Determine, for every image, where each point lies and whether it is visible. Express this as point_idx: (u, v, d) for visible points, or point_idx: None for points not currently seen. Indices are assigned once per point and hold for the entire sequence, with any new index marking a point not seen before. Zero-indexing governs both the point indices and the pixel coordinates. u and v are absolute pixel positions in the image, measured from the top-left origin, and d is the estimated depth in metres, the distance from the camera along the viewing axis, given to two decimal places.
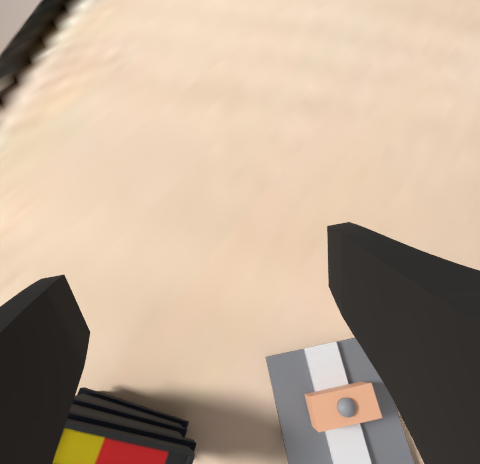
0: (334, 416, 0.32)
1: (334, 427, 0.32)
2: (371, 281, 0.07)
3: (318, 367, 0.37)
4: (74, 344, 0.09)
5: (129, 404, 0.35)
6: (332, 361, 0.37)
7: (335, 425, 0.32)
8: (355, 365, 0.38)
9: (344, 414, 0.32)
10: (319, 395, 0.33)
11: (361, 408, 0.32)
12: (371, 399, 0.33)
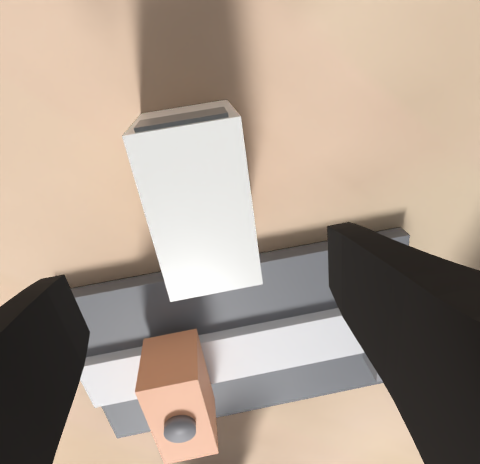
0: (195, 437, 0.19)
1: (212, 437, 0.19)
2: (371, 281, 0.07)
3: (124, 391, 0.21)
4: (74, 344, 0.09)
5: None
6: (112, 373, 0.21)
7: (209, 436, 0.19)
8: (116, 331, 0.20)
9: (191, 435, 0.18)
10: (162, 454, 0.19)
11: (181, 406, 0.17)
12: (165, 393, 0.17)
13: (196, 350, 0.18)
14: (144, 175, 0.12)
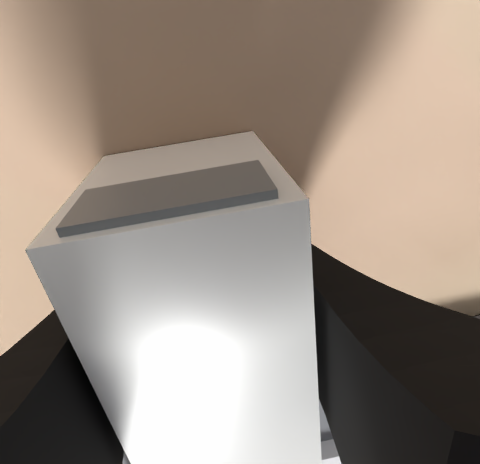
0: None
1: None
2: None
3: None
4: None
5: None
6: None
7: None
8: None
9: None
10: None
11: None
12: None
13: None
14: (87, 323, 0.05)
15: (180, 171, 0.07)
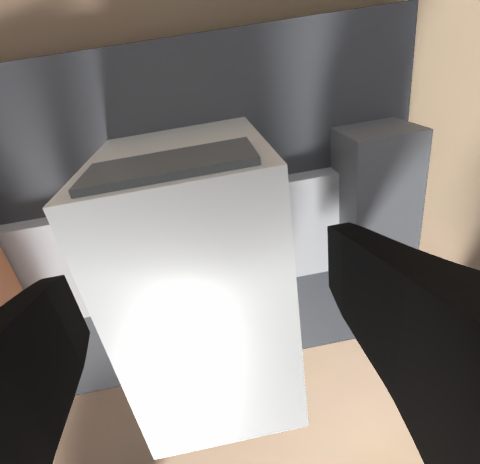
0: None
1: None
2: (371, 281, 0.07)
3: None
4: (74, 344, 0.09)
5: None
6: None
7: None
8: None
9: None
10: None
11: None
12: None
13: None
14: (95, 277, 0.06)
15: (177, 149, 0.08)
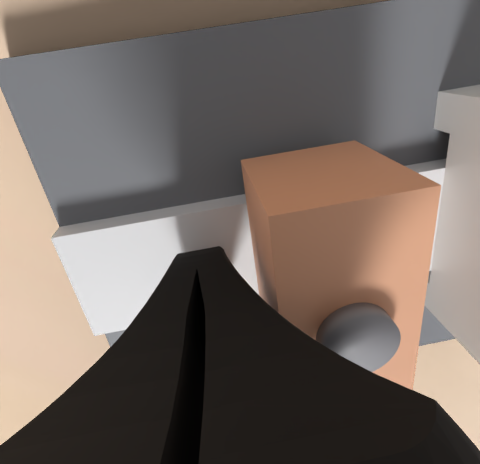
0: None
1: (411, 370, 0.08)
2: None
3: None
4: None
5: None
6: (131, 256, 0.10)
7: (405, 367, 0.08)
8: (142, 161, 0.09)
9: (384, 356, 0.07)
10: None
11: (372, 275, 0.07)
12: (347, 227, 0.06)
13: (383, 158, 0.08)
14: None
15: None
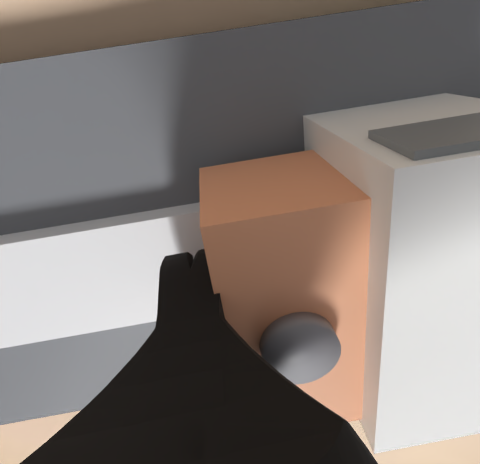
0: (323, 377, 0.08)
1: (360, 379, 0.08)
2: None
3: None
4: None
5: None
6: None
7: (354, 376, 0.08)
8: None
9: (326, 365, 0.07)
10: None
11: (310, 285, 0.07)
12: (280, 238, 0.06)
13: (332, 168, 0.08)
14: (410, 250, 0.06)
15: (434, 119, 0.07)
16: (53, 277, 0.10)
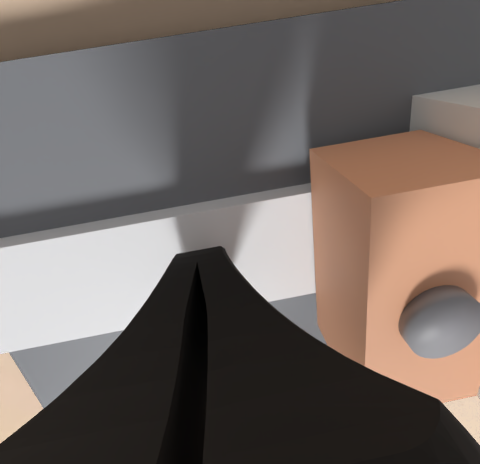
0: None
1: None
2: None
3: (48, 320, 0.11)
4: None
5: None
6: (15, 278, 0.10)
7: (479, 351, 0.08)
8: (21, 183, 0.09)
9: (467, 338, 0.07)
10: None
11: (460, 257, 0.07)
12: (444, 209, 0.06)
13: (460, 145, 0.08)
14: None
15: None
16: (158, 261, 0.10)
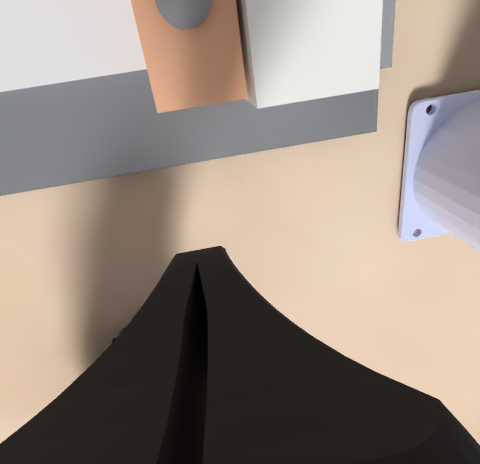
0: (209, 42, 0.11)
1: (238, 48, 0.11)
2: None
3: None
4: None
5: None
6: None
7: (233, 43, 0.11)
8: None
9: (203, 8, 0.10)
10: (152, 82, 0.11)
11: None
12: None
13: None
14: None
15: None
16: (18, 20, 0.13)
